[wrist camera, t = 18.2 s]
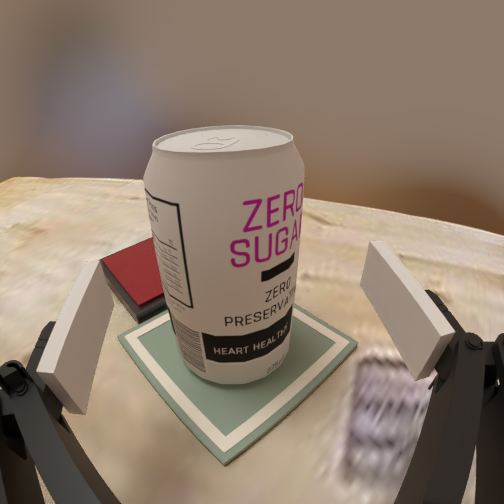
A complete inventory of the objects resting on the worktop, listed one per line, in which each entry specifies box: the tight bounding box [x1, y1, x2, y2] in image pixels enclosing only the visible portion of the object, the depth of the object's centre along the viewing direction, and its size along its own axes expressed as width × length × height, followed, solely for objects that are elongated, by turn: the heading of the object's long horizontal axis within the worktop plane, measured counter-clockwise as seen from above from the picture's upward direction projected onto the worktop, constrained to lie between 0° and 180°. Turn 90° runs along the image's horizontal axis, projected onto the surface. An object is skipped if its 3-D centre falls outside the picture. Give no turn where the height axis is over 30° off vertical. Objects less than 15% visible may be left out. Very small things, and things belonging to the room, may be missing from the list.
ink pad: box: [98, 237, 168, 324], centre depth 31 cm, size 11×11×2 cm
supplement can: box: [143, 125, 305, 384], centre depth 19 cm, size 8×8×15 cm
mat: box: [117, 304, 358, 466], centre depth 23 cm, size 14×14×1 cm
